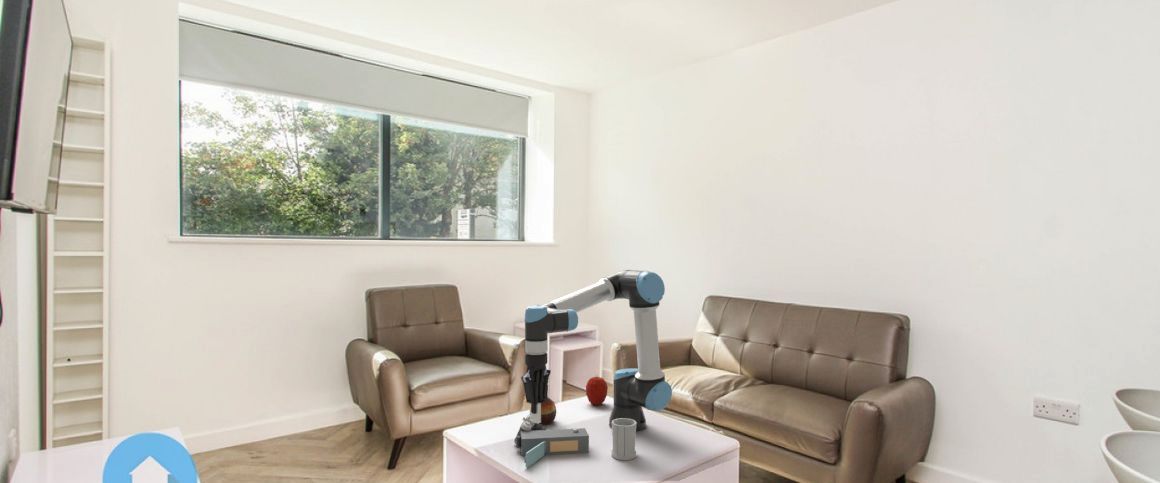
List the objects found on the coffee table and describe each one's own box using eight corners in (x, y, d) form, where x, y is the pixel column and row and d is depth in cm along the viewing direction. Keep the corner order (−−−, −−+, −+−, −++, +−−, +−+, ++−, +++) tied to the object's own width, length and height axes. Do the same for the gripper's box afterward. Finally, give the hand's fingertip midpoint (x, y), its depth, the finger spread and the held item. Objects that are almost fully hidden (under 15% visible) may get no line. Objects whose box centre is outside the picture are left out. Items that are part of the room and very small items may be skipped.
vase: (555, 426, 226) (555, 389, 226) (528, 426, 226) (528, 388, 226) (556, 418, 237) (557, 382, 237) (531, 417, 237) (531, 381, 237)
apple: (607, 408, 251) (607, 377, 251) (585, 407, 252) (585, 377, 252) (607, 401, 262) (607, 372, 261) (586, 401, 262) (586, 371, 262)
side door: (527, 467, 185) (527, 453, 184) (524, 467, 185) (524, 452, 185) (546, 454, 196) (546, 440, 196) (543, 453, 197) (543, 440, 197)
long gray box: (584, 444, 207) (585, 426, 207) (588, 452, 199) (589, 433, 199) (515, 447, 203) (516, 429, 203) (517, 456, 195) (517, 437, 195)
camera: (510, 442, 205) (521, 418, 203) (523, 426, 220) (533, 403, 219) (532, 454, 203) (543, 430, 202) (543, 437, 219) (554, 414, 218)
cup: (610, 449, 202) (611, 416, 202) (635, 449, 202) (636, 416, 202) (611, 460, 192) (611, 426, 192) (637, 461, 192) (638, 426, 192)
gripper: (540, 347, 194) (540, 414, 194) (514, 354, 183) (515, 425, 184) (556, 350, 190) (557, 419, 190) (532, 357, 179) (532, 430, 179)
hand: (536, 422), depth 187 cm, fingers closed
